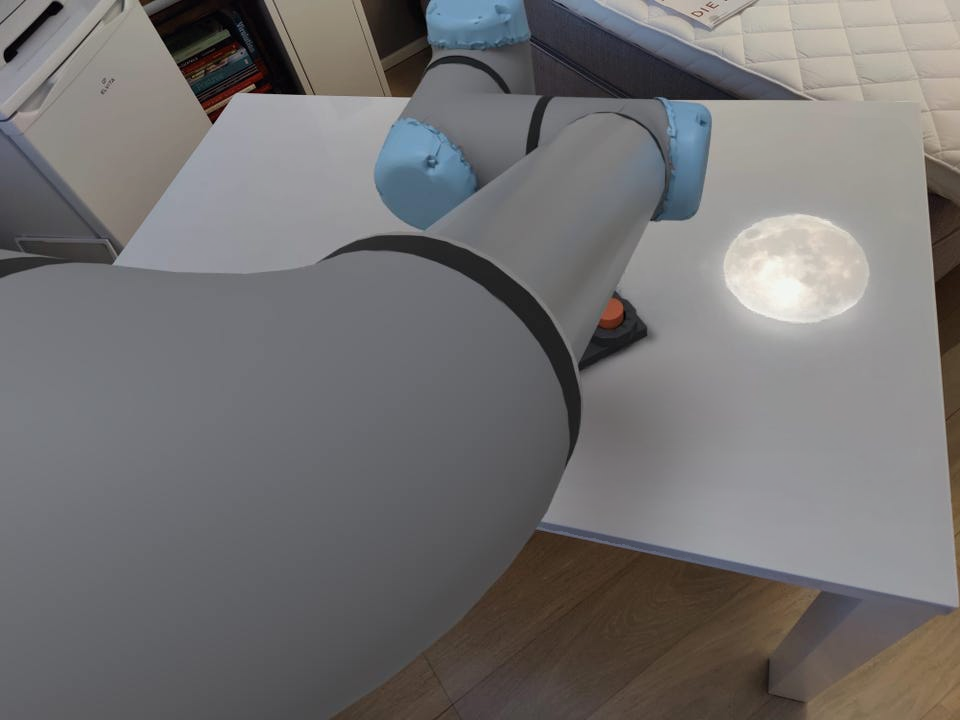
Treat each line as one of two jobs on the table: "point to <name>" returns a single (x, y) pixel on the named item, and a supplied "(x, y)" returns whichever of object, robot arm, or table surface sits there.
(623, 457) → the table surface
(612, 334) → the dark grey button plate
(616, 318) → the button
